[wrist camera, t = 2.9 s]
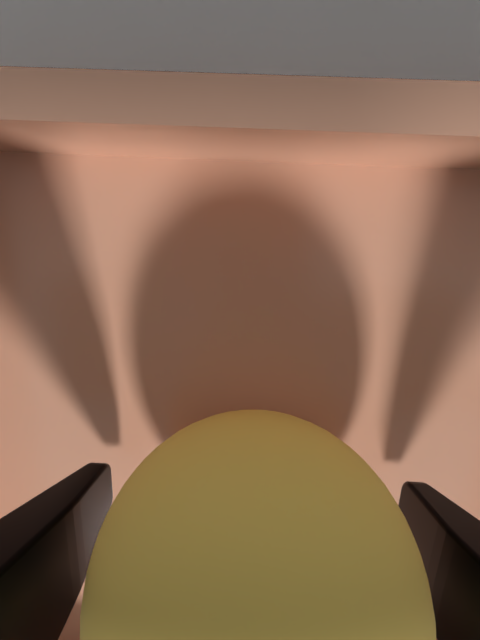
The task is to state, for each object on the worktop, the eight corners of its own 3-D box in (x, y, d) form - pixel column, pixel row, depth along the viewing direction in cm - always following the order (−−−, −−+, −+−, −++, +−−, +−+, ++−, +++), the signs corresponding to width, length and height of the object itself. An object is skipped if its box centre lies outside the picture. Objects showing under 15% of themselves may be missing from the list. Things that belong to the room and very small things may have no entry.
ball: (377, 371, 7) (664, 682, 2) (348, 557, 8) (485, 1017, 3) (143, 359, 7) (-90, 627, 2) (149, 544, 8) (8, 971, 3)
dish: (644, 148, 6) (890, 93, 4) (478, 669, 10) (551, 811, 7) (-81, 122, 7) (-273, 57, 4) (12, 635, 10) (-63, 759, 8)
